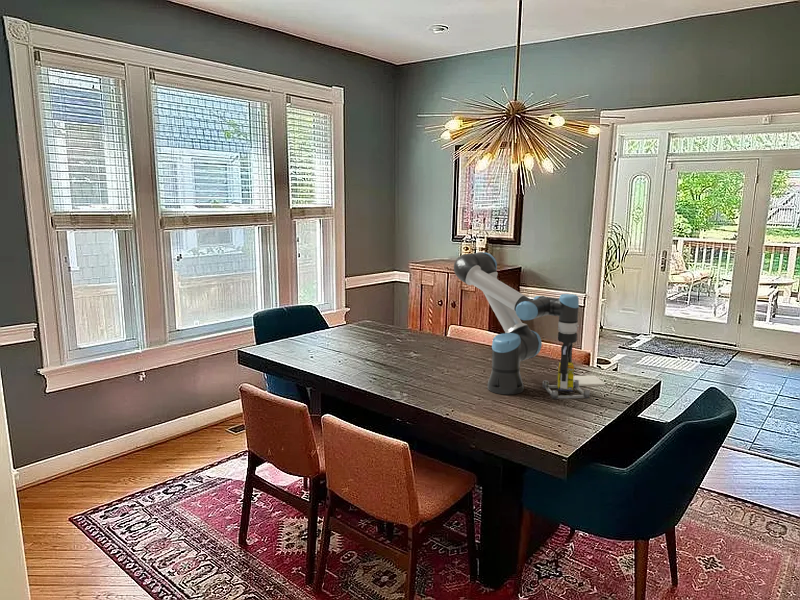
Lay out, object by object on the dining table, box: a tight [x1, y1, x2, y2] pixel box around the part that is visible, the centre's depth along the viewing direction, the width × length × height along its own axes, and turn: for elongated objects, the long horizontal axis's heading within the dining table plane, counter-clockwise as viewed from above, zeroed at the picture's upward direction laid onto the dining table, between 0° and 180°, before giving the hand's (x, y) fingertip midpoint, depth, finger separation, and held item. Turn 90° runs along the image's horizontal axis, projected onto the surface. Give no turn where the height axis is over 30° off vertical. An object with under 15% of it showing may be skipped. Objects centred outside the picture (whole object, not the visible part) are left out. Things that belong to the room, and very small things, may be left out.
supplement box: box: [556, 361, 575, 392], centre depth 228 cm, size 6×6×11 cm
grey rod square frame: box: [542, 379, 591, 400], centre depth 229 cm, size 15×15×3 cm
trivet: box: [573, 375, 606, 387], centre depth 243 cm, size 12×12×1 cm
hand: (565, 385), depth 229 cm, fingers closed on supplement box, 7 cm apart
